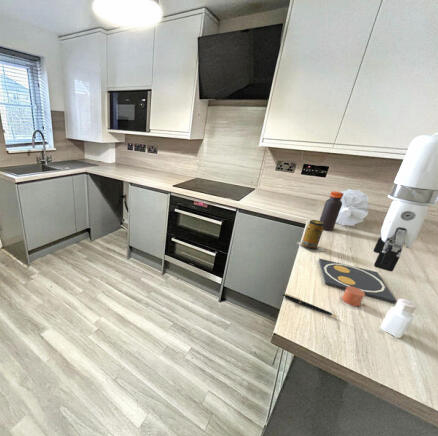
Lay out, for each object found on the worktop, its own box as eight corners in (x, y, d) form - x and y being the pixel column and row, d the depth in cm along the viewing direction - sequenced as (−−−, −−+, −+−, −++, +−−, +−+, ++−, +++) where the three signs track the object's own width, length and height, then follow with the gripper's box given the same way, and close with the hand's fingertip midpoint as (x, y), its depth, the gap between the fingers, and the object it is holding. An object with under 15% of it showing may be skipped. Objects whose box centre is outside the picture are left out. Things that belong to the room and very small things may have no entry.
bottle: (316, 228, 126) (328, 192, 119) (318, 224, 131) (330, 190, 123) (331, 232, 122) (344, 195, 114) (333, 228, 126) (346, 192, 119)
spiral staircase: (329, 230, 134) (335, 217, 151) (371, 227, 121) (372, 213, 138) (321, 200, 132) (328, 190, 149) (363, 193, 119) (365, 183, 136)
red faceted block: (358, 299, 74) (362, 289, 72) (361, 308, 70) (366, 297, 68) (340, 294, 75) (345, 284, 74) (343, 303, 72) (348, 292, 70)
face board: (376, 274, 87) (377, 271, 87) (395, 303, 72) (396, 300, 72) (318, 260, 95) (319, 258, 95) (324, 284, 80) (325, 281, 80)
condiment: (309, 242, 110) (317, 218, 106) (325, 251, 102) (334, 226, 98) (296, 243, 109) (303, 219, 104) (311, 252, 101) (319, 226, 97)
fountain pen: (338, 317, 66) (339, 313, 66) (337, 320, 65) (339, 316, 65) (281, 295, 74) (282, 291, 74) (280, 297, 73) (282, 293, 73)
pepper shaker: (404, 333, 62) (421, 305, 58) (399, 339, 60) (416, 310, 56) (384, 323, 65) (399, 295, 61) (378, 328, 63) (394, 300, 59)
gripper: (448, 207, 43) (407, 283, 50) (431, 190, 56) (399, 253, 62) (392, 198, 48) (361, 268, 54) (387, 185, 60) (362, 244, 67)
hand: (381, 260), depth 58 cm, fingers open, 9 cm apart
